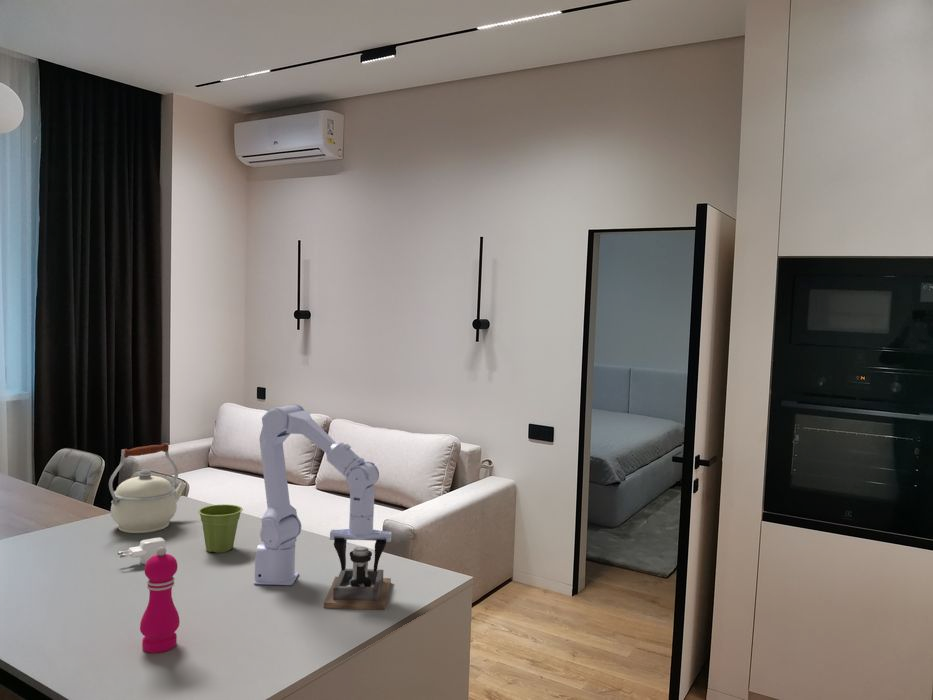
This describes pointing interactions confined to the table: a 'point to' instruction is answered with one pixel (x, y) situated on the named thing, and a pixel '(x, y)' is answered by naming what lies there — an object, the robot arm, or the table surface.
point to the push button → (360, 567)
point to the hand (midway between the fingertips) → (359, 569)
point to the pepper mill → (160, 604)
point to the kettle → (144, 496)
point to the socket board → (358, 592)
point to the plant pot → (220, 526)
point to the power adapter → (145, 549)
